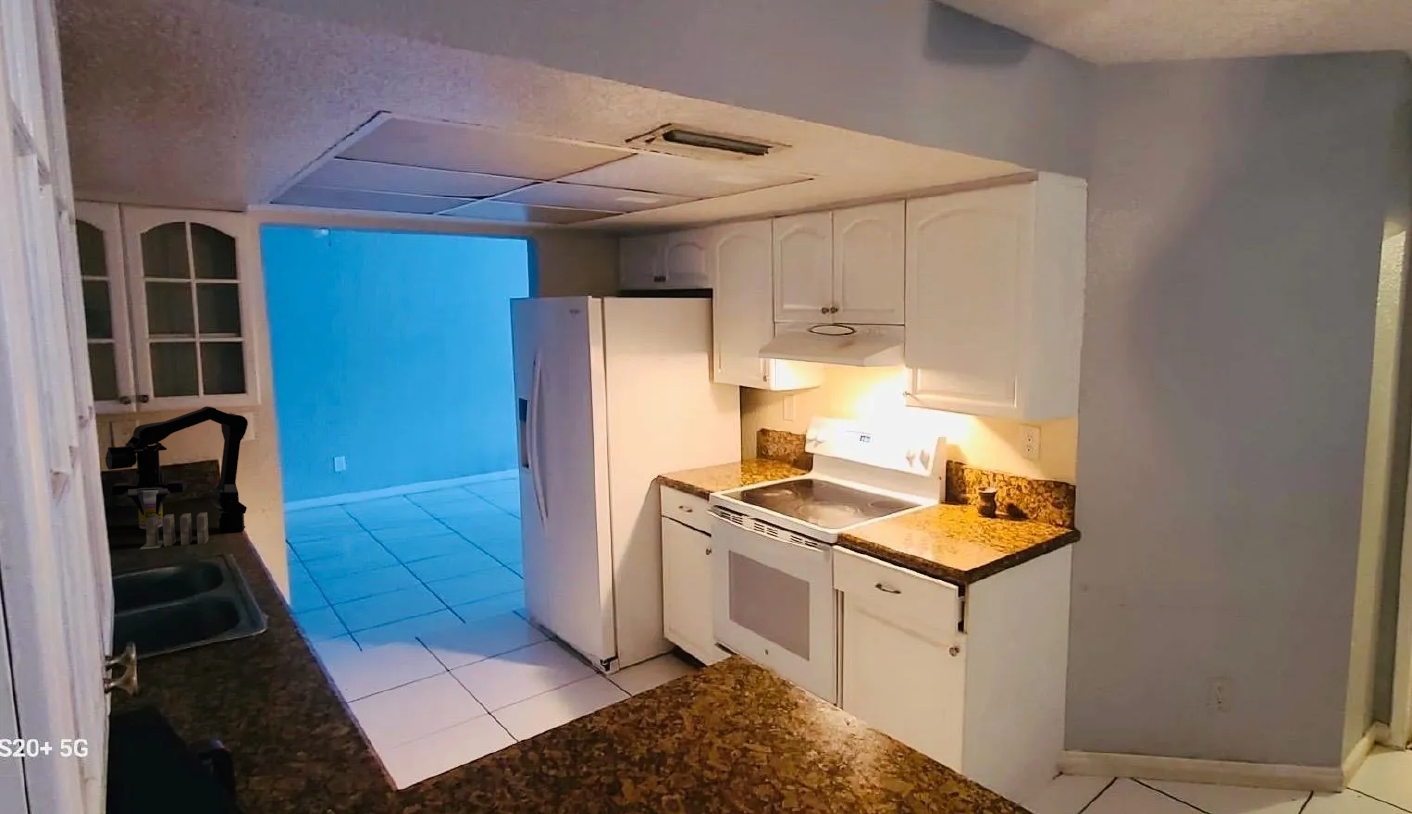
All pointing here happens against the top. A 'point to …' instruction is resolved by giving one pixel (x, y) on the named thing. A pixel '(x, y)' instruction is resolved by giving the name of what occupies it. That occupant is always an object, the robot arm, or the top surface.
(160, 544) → the gap pad
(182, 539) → the domino
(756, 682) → the top surface
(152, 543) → the tile
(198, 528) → the domino
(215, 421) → the robot arm
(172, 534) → the domino
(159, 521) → the supplement bottle
